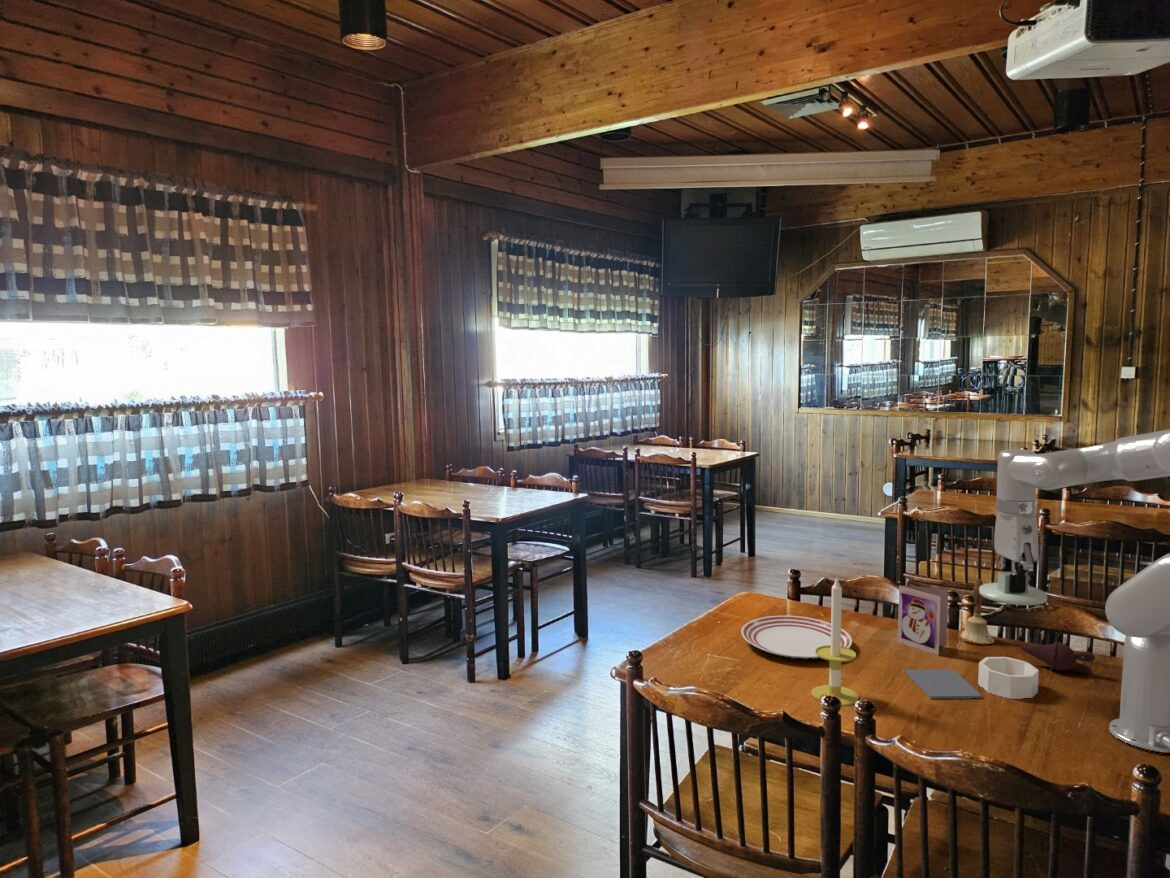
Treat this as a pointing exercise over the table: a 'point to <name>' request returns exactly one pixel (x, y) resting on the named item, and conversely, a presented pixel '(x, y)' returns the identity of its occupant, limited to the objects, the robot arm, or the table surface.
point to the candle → (836, 654)
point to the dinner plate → (791, 635)
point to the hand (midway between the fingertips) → (1012, 589)
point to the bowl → (1008, 677)
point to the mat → (943, 684)
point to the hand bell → (977, 621)
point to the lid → (1003, 594)
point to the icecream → (1060, 656)
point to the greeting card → (923, 617)
